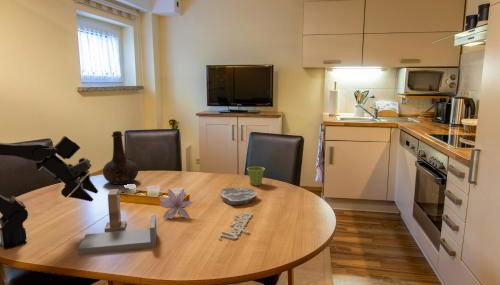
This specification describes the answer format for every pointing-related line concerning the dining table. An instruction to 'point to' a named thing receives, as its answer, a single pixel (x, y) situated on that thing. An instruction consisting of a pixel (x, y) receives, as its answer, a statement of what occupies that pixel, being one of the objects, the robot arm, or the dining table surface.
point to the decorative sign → (237, 227)
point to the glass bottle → (119, 164)
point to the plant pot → (255, 175)
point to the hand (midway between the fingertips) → (95, 196)
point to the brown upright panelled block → (114, 212)
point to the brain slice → (237, 195)
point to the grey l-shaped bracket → (119, 240)
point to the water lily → (175, 204)
